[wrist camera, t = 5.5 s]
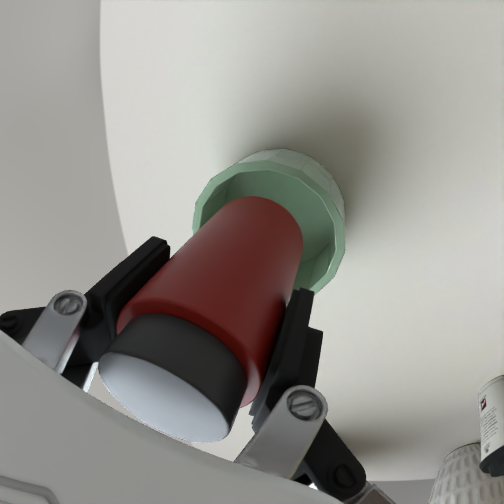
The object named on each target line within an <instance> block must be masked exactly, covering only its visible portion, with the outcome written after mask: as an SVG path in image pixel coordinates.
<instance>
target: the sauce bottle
mask: <svg viewBox="0 0 504 504" xmlns="http://www.w3.org/2000/svg"><path fill="white" fill-rule="evenodd" d="M302 252H303V237H302V233H301V230H300V227H299V225H298V223H297V222H296V220H295V219H294V217H293V216H292V215H291V214H290V212H289V211H287V210H286V209H285V208H284V207H283V206H281V205H280V204H278V203H276V202H274V201H272V200H270V199H267V198H263V197H257V196H246V197H240V198H237V199H234V200H232V201H230V202H229V203H227V204H225V205H224V206H223V207H222V208H221V209H220V210H219V211H218V212H217V213H216V214H215V215H214V216H213V217H212V218H211V219H210V220H209V221H208V222H207V223H205V224H204V225H203V226H202V227H201V228H200V229H199V230H198V231H197V232H196V233H195V234H194V235H193V236H192V237H191V238H190V239H189V240H188V241H187V242H186V243H185V244H184V245H183V246H182V247H181V248H180V249H179V250H178V251H177V252H176V253H175V254H174V255H173V256H172V257H171V258H170V259H169V260H168V261H167V262H166V263H165V264H164V265H163V266H162V267H161V268H160V269H159V270H158V272H157V273H156V274H155V275H154V276H153V277H152V278H151V279H150V280H149V281H148V282H147V283H146V284H145V285H144V286H143V287H142V288H141V289H140V290H139V291H138V292H137V293H136V295H135V296H134V297H133V298H132V299H131V300H130V301H129V302H128V303H127V304H126V305H125V306H124V307H123V308H122V310H121V312H120V313H119V316H118V319H117V325H116V330H117V337H116V338H115V339H114V340H113V341H112V343H111V344H110V345H109V346H108V347H107V349H106V350H105V351H104V352H103V353H102V355H101V356H100V358H99V362H98V370H99V374H100V377H101V379H102V381H103V383H104V385H105V386H106V388H107V389H108V391H109V392H110V393H111V394H112V396H113V397H114V398H115V399H116V400H117V401H118V402H119V403H120V404H121V405H122V406H123V407H124V408H125V409H126V410H128V411H129V412H130V413H131V414H133V415H134V416H135V417H137V418H138V419H140V420H141V421H143V422H144V423H146V424H148V425H149V426H151V427H153V428H155V429H157V430H159V431H161V432H163V433H165V434H168V435H171V436H173V437H176V438H179V439H182V440H187V441H191V442H197V443H213V442H217V441H220V440H222V439H224V438H225V437H226V436H227V435H228V434H229V433H230V431H231V428H232V426H233V423H234V421H235V418H236V416H237V413H238V410H239V408H242V407H244V406H246V405H248V404H250V403H251V402H252V401H253V400H254V399H255V398H256V397H257V395H258V393H259V391H260V388H261V386H262V384H263V380H264V377H265V374H266V371H267V368H268V365H269V362H270V359H271V356H272V353H273V350H274V347H275V343H276V340H277V337H278V334H279V330H280V327H281V324H282V321H283V317H284V314H285V311H286V308H287V305H288V302H289V298H290V295H291V291H292V288H293V284H294V281H295V277H296V274H297V270H298V267H299V263H300V259H301V256H302Z"/></svg>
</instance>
